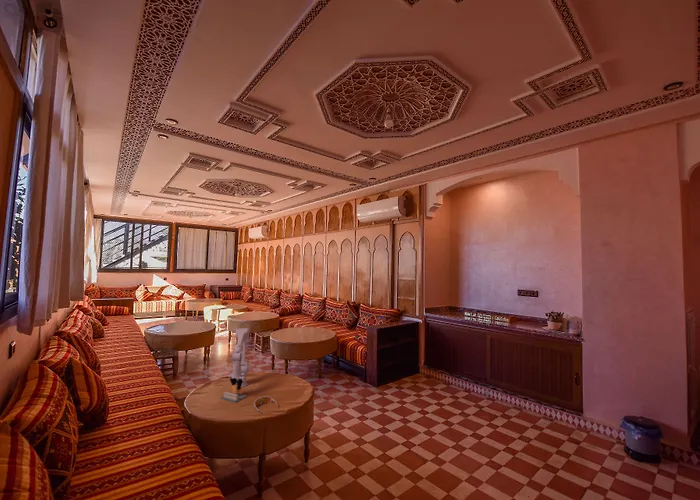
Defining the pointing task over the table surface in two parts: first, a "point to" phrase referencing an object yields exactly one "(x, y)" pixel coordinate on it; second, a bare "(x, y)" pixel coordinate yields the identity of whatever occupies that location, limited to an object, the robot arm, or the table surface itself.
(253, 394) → the table surface
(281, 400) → the table surface
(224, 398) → the board
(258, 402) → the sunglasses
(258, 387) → the table surface
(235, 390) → the block
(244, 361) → the robot arm
